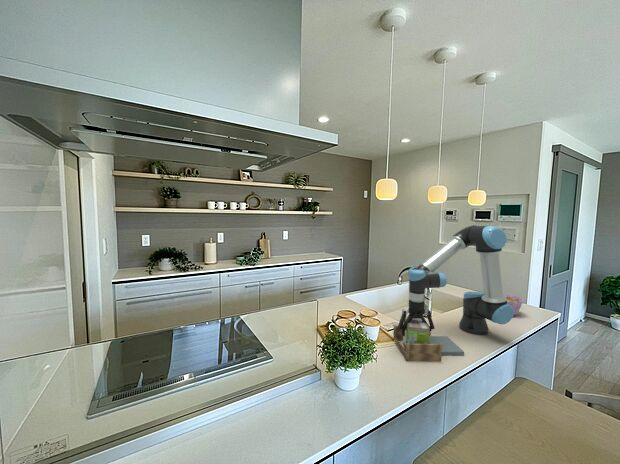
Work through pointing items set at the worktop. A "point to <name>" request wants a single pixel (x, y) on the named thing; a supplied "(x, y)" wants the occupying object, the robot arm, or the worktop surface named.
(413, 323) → the tea box
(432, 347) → the walnut caddy
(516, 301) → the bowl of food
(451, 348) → the slate board
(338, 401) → the worktop surface
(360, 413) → the worktop surface
